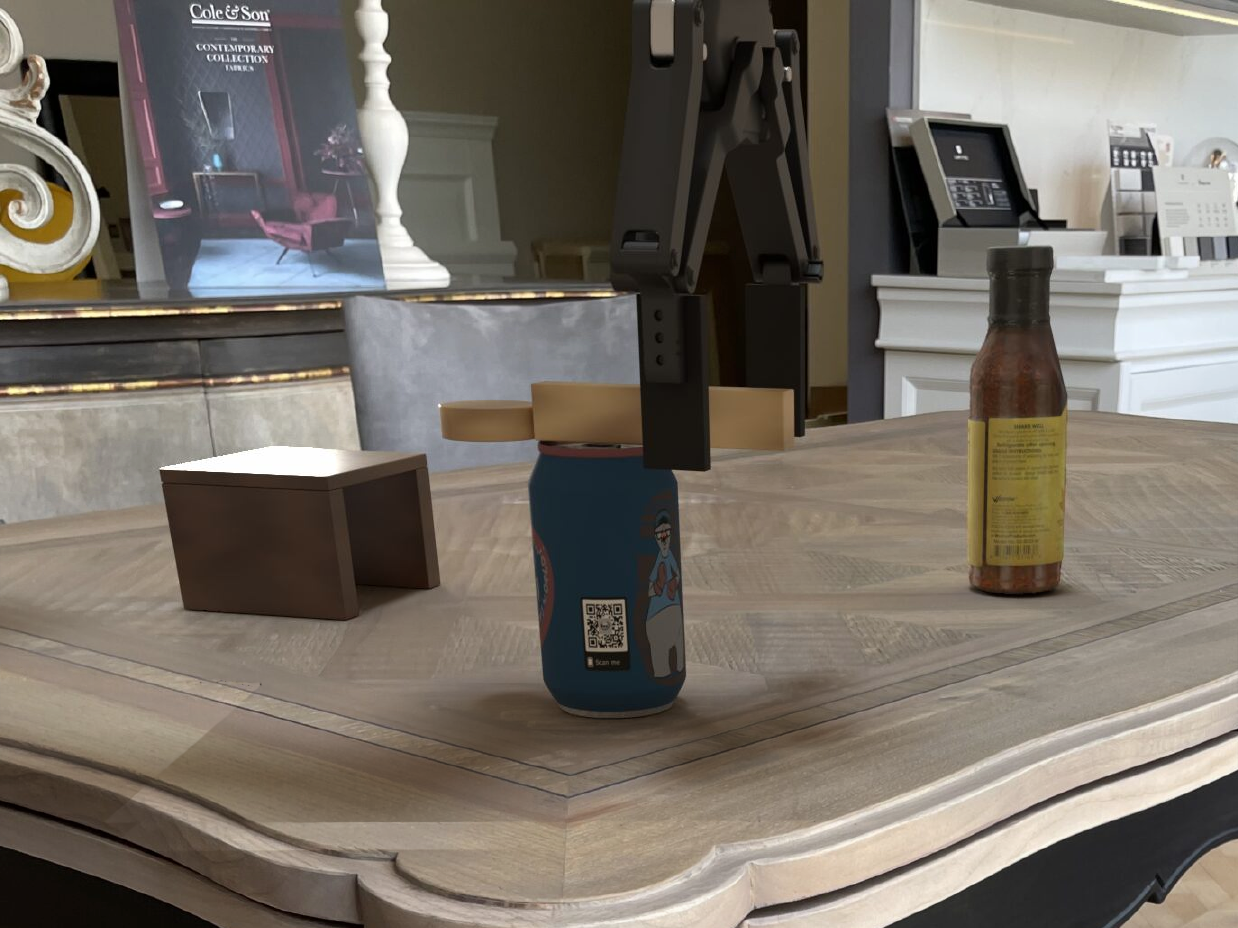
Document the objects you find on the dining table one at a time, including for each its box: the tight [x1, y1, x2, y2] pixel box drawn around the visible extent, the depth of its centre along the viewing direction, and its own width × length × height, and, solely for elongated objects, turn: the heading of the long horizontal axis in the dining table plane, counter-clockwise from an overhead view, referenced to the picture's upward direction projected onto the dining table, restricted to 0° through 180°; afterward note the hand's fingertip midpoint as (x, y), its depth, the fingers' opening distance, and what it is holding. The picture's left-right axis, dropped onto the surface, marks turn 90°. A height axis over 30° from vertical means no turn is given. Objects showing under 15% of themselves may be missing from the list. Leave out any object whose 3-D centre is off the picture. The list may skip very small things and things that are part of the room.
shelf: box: [159, 446, 442, 621], centre depth 105 cm, size 11×12×8 cm
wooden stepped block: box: [438, 380, 795, 452], centre depth 77 cm, size 17×5×2 cm, turn 75°
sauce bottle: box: [967, 244, 1069, 595], centre depth 106 cm, size 7×6×20 cm
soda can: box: [527, 441, 687, 719], centre depth 81 cm, size 7×7×12 cm
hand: (730, 451), depth 76 cm, fingers open, 13 cm apart
